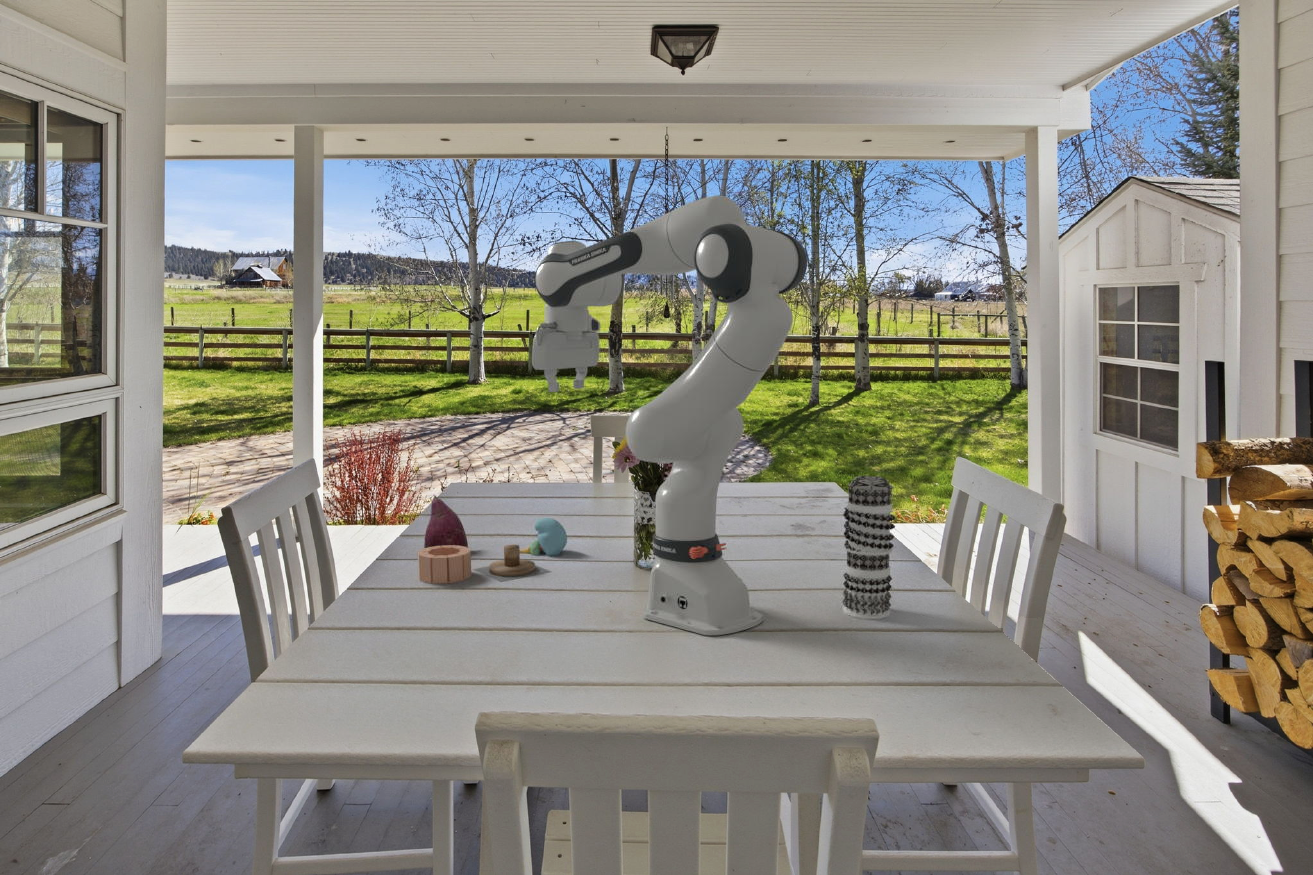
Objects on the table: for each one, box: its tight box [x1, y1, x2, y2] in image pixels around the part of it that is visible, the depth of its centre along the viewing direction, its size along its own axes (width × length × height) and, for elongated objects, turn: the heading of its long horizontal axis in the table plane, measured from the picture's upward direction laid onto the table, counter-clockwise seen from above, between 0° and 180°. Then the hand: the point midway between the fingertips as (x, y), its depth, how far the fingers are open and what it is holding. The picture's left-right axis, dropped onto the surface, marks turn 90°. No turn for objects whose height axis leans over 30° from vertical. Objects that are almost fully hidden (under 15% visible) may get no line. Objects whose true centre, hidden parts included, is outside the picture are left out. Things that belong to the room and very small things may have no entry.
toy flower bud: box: [519, 517, 568, 557], centre depth 203 cm, size 7×9×12 cm
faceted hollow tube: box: [417, 545, 472, 584], centre depth 184 cm, size 10×11×6 cm
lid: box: [488, 544, 536, 577], centre depth 188 cm, size 10×10×5 cm
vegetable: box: [423, 495, 469, 549], centre depth 206 cm, size 10×10×15 cm
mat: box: [473, 564, 552, 583], centre depth 189 cm, size 12×12×1 cm
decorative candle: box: [842, 475, 896, 620], centre depth 162 cm, size 9×9×25 cm
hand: (566, 390), depth 185 cm, fingers open, 8 cm apart
